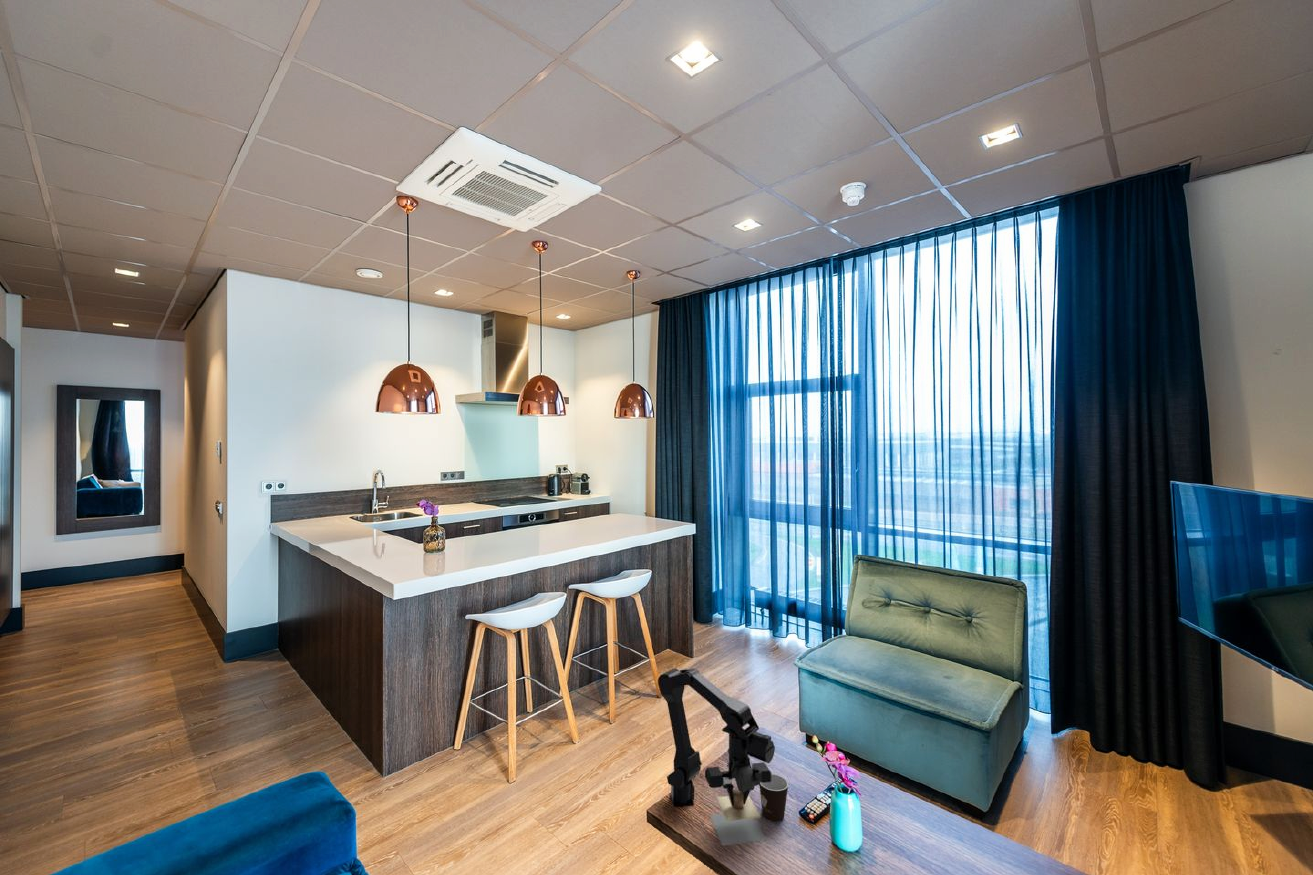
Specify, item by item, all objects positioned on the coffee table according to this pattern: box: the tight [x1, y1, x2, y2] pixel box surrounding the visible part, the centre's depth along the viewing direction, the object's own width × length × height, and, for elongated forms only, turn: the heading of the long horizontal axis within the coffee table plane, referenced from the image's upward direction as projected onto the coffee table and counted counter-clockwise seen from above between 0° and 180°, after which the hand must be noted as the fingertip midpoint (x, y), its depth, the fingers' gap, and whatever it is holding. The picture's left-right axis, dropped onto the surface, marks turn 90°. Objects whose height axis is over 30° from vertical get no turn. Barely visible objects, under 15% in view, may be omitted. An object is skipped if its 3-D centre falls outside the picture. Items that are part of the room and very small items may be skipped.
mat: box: [709, 813, 767, 847], centre depth 160 cm, size 13×13×1 cm
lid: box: [716, 788, 761, 821], centre depth 160 cm, size 10×10×4 cm
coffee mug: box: [758, 773, 789, 823], centre depth 168 cm, size 12×9×10 cm
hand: (737, 804), depth 160 cm, fingers closed on lid, 3 cm apart
